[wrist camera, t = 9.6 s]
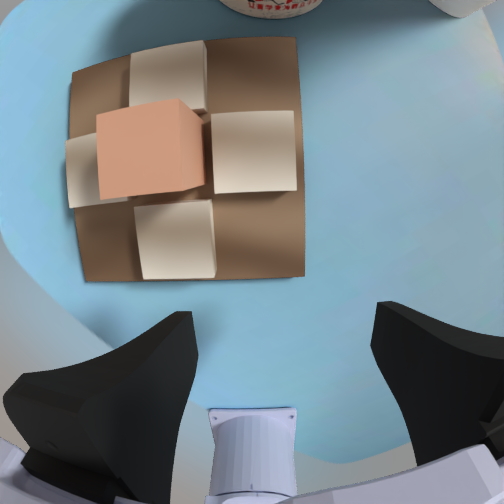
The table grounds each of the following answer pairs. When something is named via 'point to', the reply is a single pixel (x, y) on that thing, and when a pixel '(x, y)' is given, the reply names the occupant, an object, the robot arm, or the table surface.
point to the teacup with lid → (272, 7)
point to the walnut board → (216, 163)
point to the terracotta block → (150, 149)
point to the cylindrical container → (460, 6)
